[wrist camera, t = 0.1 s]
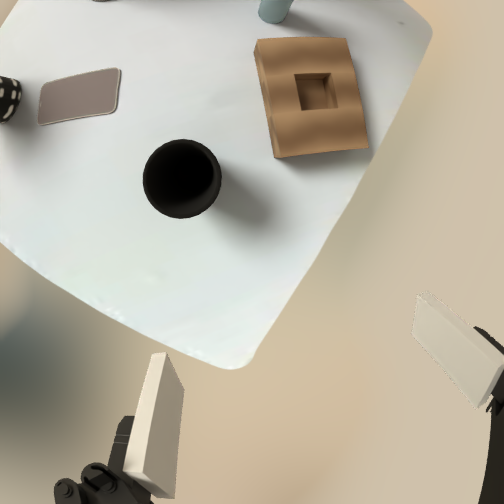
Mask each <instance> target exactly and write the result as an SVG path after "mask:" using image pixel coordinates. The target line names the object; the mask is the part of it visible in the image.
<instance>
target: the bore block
mask: <svg viewBox="0 0 504 504" xmlns="http://www.w3.org/2000/svg"><path fill="white" fill-rule="evenodd" d="M254 57H255V62H256V66H257V71H258V76H259V81H260V86H261V90H262V95H263V101H264V106H265V111H266V116H267V121H268V127H269V132H270V138H271V143H272V149H273V154H274V158H282V157H289V156H296V155H303V154H311V153H320V152H329V151H338V150H349V149H361V148H369V146H368V139H367V132H366V126H365V120H364V114H363V109H362V104H361V98H360V94H359V89H358V84H357V80H356V75H355V71H354V67H353V63H352V59H351V55H350V52H349V48H348V45H347V41H346V38H330V37H284V38H267V39H258V40H257V43H256V46H255V50H254Z"/></svg>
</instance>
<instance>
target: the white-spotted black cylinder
mask: <svg viewBox="0 0 504 504" xmlns="http://www.w3.org/2000/svg"><path fill="white" fill-rule="evenodd" d="M20 97H21V86H20V83H19V82H18V81H17V80H15V79H11V78H6V77H2V76H0V123H4V122H6V121H8V120H9V119H10V118H11V117H12V115H13V114H14V113H15V111H16V109H17V107H18V104H19V101H20Z"/></svg>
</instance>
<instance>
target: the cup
mask: <svg viewBox="0 0 504 504" xmlns="http://www.w3.org/2000/svg"><path fill="white" fill-rule="evenodd" d="M221 179H222V175H221V169H220V165H219V163H218V161H217V159H216V157H215V156H214V154H213V153H212V152H211V151H210V150H209V149H208V148H207V147H205V146H204V145H203V144H201V143H198V142H196V141H193V140H187V139H179V140H173V141H170V142H167V143H165V144H163V145H162V146H160V147H159V148H157V149H156V150H155V151H154V153H153V154H152V155H151V156H150V157H149V159H148V161H147V163H146V165H145V168H144V172H143V187H144V192H145V194H146V196H147V198H148V200H149V202H150V203H151V204H152V206H153V207H154V208H155V209H156V210H158V211H159V212H160V213H162V214H164V215H166V216H169V217H172V218H178V219H183V218H191V217H194V216H197V215H199V214H201V213H202V212H204V211H206V210H207V209H208V208H209V207H210V206H211V205H212V204H213V203H214V201H215V199H216V198H217V196H218V194H219V191H220V187H221Z"/></svg>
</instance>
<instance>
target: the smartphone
mask: <svg viewBox="0 0 504 504" xmlns="http://www.w3.org/2000/svg"><path fill="white" fill-rule="evenodd" d="M119 78H120V70H119V69H118V68H116V67H113V68H107V69H101V70H96V71H91V72H86V73H82V74H77V75H73V76H69V77H65V78H61V79H57V80H54V81H50V82H47V83H45V84H44V85H43V86H42V88H41V91H40V98H39V106H38V115H37V123H38V124H39V125H46V124H51V123H56V122H61V121H66V120H70V119H76V118H82V117H88V116H95V115H102V114H109V113H112V112H113V111H114V110H115V109H116V105H117V96H118V87H119V81H120V79H119Z"/></svg>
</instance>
